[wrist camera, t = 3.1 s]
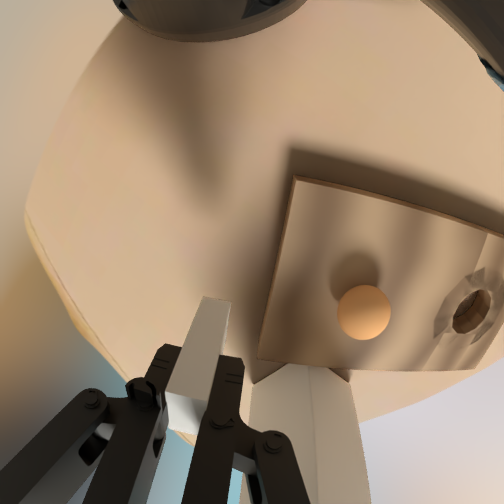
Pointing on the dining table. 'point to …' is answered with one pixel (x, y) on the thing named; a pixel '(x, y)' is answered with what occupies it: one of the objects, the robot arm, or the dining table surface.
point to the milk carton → (314, 431)
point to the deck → (381, 282)
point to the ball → (363, 312)
